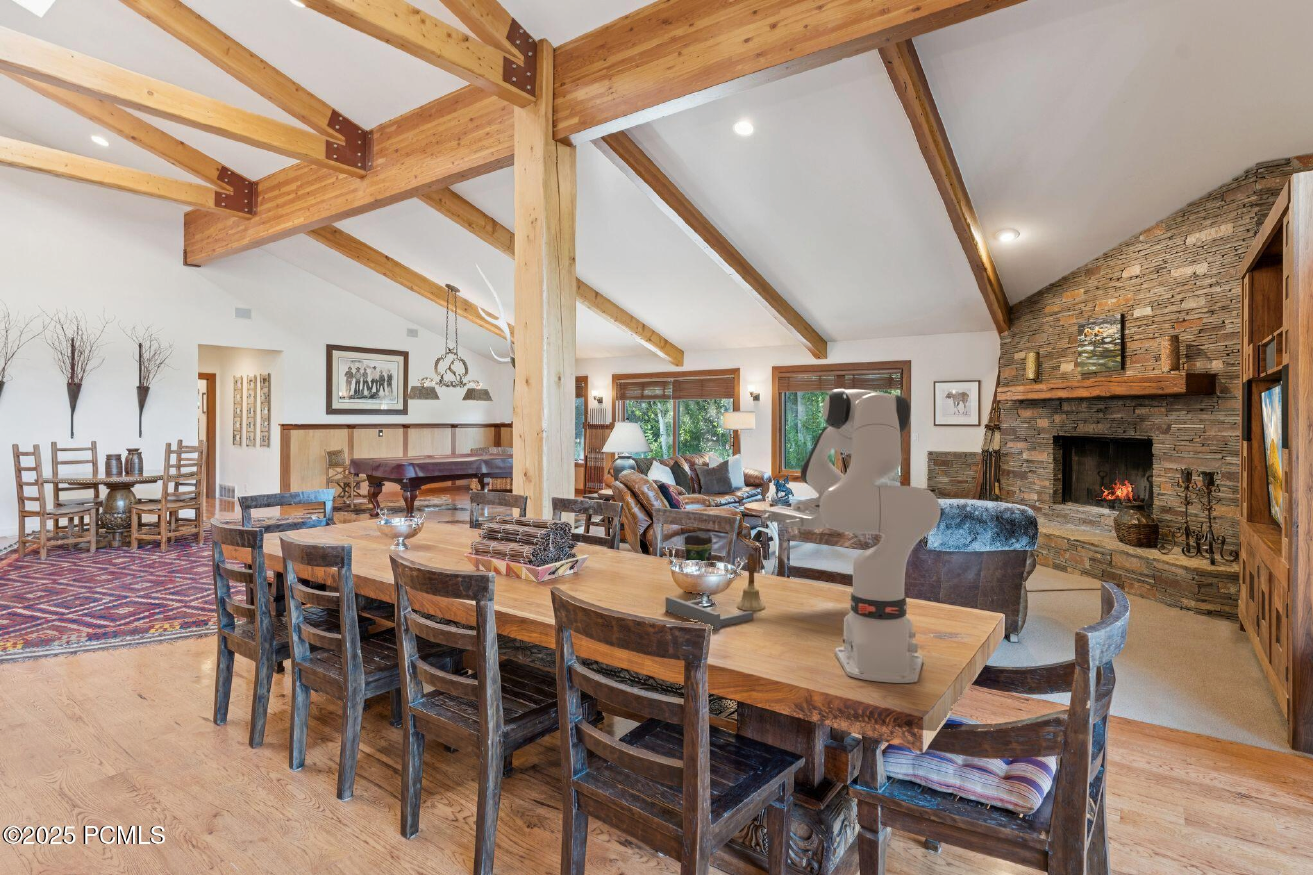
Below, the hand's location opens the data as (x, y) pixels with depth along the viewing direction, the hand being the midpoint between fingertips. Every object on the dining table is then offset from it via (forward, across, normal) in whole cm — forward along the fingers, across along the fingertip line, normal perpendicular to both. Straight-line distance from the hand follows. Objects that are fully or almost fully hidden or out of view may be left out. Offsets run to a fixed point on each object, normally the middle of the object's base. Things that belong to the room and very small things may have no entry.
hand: (774, 521), depth 196 cm
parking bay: (+26, 0, +22) cm, 34 cm away
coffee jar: (+10, -25, +25) cm, 37 cm away
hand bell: (+11, 0, +24) cm, 26 cm away
